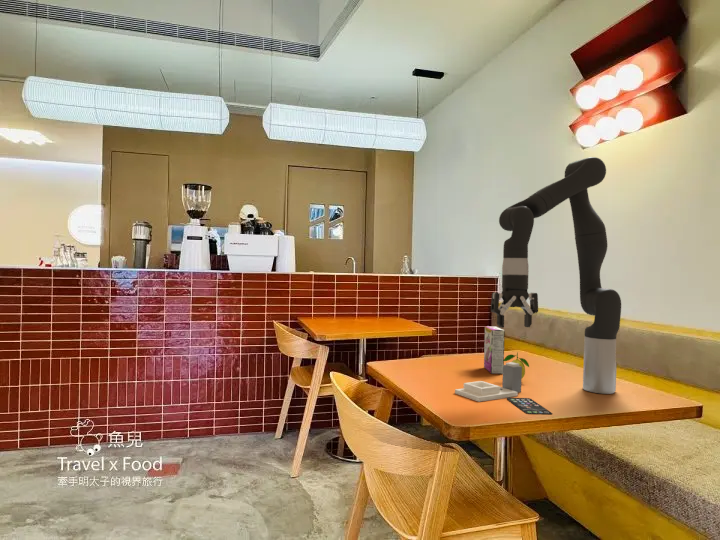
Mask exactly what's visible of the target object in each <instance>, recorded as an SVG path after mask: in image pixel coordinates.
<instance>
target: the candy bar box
mask: <svg viewBox="0 0 720 540" xmlns="http://www.w3.org/2000/svg"><path fill="white" fill-rule="evenodd" d="M505 332H506V331H505V329H502V328H501V327H499V326H489V325H487V326H484V345H483V346H484V348H483V349H484V352H483V353H484V355H483V368H484V369H485V370H487V371H488V372H489V373H490V374H491V375H492V374H493V375H503V365H505V361H504V359H505Z"/></svg>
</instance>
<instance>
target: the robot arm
mask: <svg viewBox="0 0 720 540" xmlns="http://www.w3.org/2000/svg"><path fill="white" fill-rule="evenodd" d="M606 174H607V167H606V164H605V162H604V161H603V159H601V158H599V157H595V156H591V157H586V158H582V159H579V160H575V161H572V162H570V163H569V164H568V165H567V166H566V167H565V170H564V178H561V179H560V180H557V181H555V182H552V183H551V184H549V185H546V186H544V187H543V188H541V189H539V190H537V191H535V192H534V193H533V194H531V195H529V196H528V197H527V198H525V199H524V200H521V201H519V202H516V203H514V204H512V205H511V206H508V207H506V208H505V209H504V210H503V211H502V212H501V213H500V215H499V218H498V222H499V223H498V224H499V226H500V227H501V228H502V229H503V230H504V231H507V232H512V233H511V236H510V237H509V238H507V239H505V241H504V243H503V258H502V259H503V260H502V266H501V267H502V268H501V269H502V270H501V289H502V291H501V293H500V292H492V293H491V303H490V312H491V313H494V314H496V325H497V327H498V328H500V329H502V328H504V327H505V315H504V314H505V312H506V311H507V310H509V308H520V309H521V310H522V311H523V312H524V327H525V328H530V327H531V326H532V324H533V323H532V322H533V321H532V320H533V314H537V313H539V296H538V293H537V292H529V291H528V289H529V242H530V239H531V236H532V232H533V229H534V225H535V219H537V218H540V217H542V216H543V215H545V214H546V213H549V211H551V210H552V209H554V208H555V207H557V206H559V205H560V204H561V203H563V202H564V201H565V202H566V201H567V200H569V204H570V210H571V216H572V222H573V223H572V224H573V231H574V240H575V246H576V253H577V263H578V273H579V302H580V307H581V308H582V310H583V312H585V313H586V314H587V315H589V316H594V320H593V323H592V324H591V325H590V326H586V327H585V328H584V336H583V337H584V338H583V339H584V342H583V344H584V345H583V371H582V372H583V374H582V389H583V390H584V391H587V392H591V393H596V394H603V395H609V394H610V395H612V394H615V392H616V389H617V361H616V360H617V359H616V358H617V356H616V355H617V353H616V352H617V335H618V332H619V330H620V327H621V326H620V325H621V317H622V316H621V315H622V299H621V295H620V294H619V293H618V292H617V291H616V290H615V289H612V288H607V287H606V288H603V287H602V283H601V270H602V269H601V267H602V266H603V263H604V260H605V257H606V254H607V251H608V238H607V229H606V228H607V227H606V226H605V223H604V221H603V219H602V218H601V217H600V216H599V214H598V213H597V212H596V210H595V209H594V207H593V206H592V204H591V201H590V198H589V191H588V189H589V188H591V187H595V186H597V185H599V184H600V183H602V182H603V180H604V179H605V177H606ZM501 299H502V301H501V303H500V300H501ZM527 300H529V303H528V302H527ZM499 303H500V304H499Z"/></svg>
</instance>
